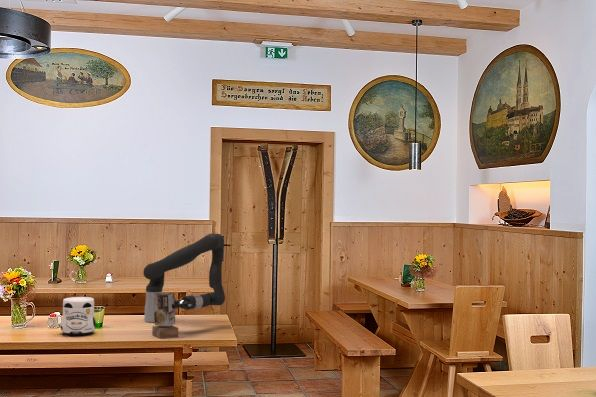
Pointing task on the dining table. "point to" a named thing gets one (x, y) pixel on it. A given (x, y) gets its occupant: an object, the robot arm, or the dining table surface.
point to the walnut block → (165, 331)
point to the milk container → (78, 316)
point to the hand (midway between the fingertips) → (167, 305)
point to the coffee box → (164, 309)
